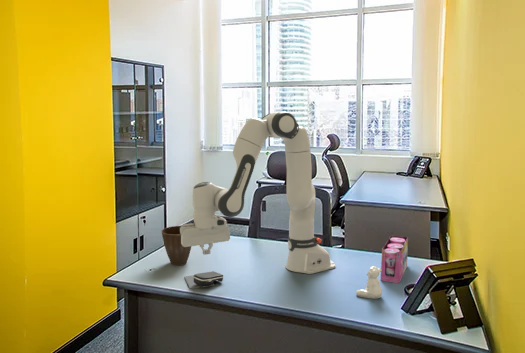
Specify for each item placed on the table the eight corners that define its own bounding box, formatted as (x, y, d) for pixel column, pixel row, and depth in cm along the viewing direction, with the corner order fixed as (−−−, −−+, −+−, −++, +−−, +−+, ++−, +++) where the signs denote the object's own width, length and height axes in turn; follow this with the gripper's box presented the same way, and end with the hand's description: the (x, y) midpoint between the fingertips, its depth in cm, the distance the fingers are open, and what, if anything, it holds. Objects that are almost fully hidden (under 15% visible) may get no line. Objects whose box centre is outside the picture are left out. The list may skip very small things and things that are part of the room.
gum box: (399, 285, 177) (400, 252, 174) (379, 281, 180) (380, 250, 178) (407, 265, 198) (408, 237, 196) (389, 263, 201) (390, 235, 199)
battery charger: (212, 279, 186) (191, 283, 177) (213, 270, 186) (192, 274, 177) (223, 283, 181) (201, 288, 173) (224, 274, 181) (202, 278, 173)
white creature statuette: (371, 289, 173) (371, 260, 171) (389, 296, 166) (390, 266, 164) (355, 295, 167) (355, 265, 165) (372, 303, 160) (373, 271, 158)
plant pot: (198, 257, 213) (197, 225, 210) (190, 268, 198) (189, 234, 195) (168, 257, 214) (167, 225, 212) (158, 267, 199) (157, 234, 197)
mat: (207, 274, 190) (207, 273, 190) (214, 285, 178) (214, 284, 178) (184, 277, 187) (184, 276, 187) (190, 289, 175) (190, 287, 175)
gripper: (180, 226, 173) (183, 260, 175) (230, 220, 180) (232, 252, 182) (178, 223, 179) (180, 255, 181) (226, 217, 185) (227, 248, 187)
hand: (206, 253), depth 181 cm, fingers closed
